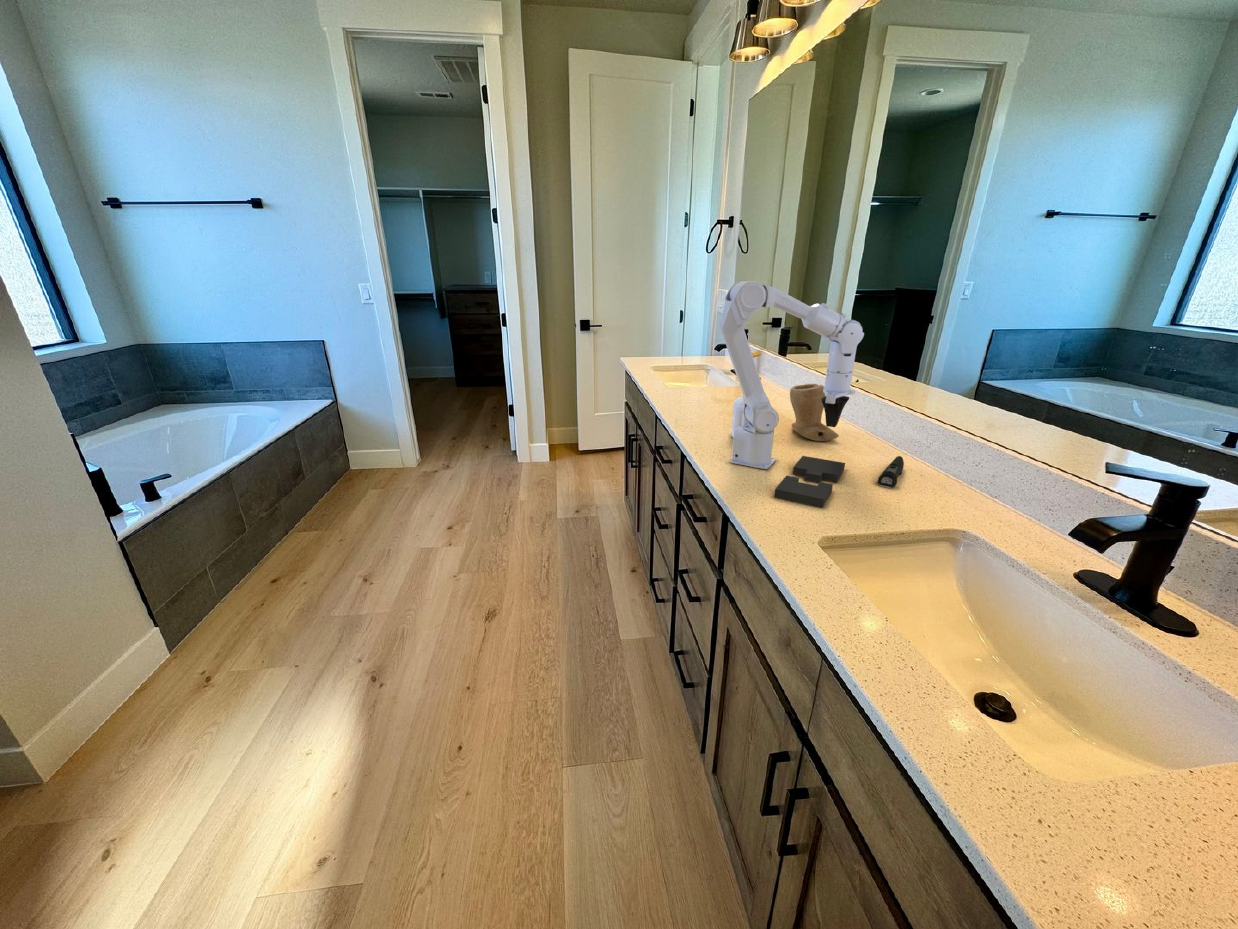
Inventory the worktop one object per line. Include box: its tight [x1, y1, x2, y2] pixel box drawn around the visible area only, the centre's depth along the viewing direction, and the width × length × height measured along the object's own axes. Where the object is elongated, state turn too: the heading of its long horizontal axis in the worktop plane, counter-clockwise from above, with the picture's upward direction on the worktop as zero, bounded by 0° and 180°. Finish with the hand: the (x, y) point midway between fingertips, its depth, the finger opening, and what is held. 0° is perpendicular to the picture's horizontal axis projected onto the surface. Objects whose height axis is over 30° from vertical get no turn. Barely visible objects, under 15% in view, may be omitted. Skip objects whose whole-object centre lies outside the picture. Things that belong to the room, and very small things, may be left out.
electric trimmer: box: [877, 455, 905, 489], centre depth 115 cm, size 4×16×3 cm, turn 143°
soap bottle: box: [730, 351, 762, 438], centre depth 140 cm, size 9×9×25 cm
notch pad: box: [773, 475, 834, 509], centre depth 106 cm, size 10×9×2 cm
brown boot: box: [789, 383, 840, 442], centre depth 143 cm, size 15×12×15 cm
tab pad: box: [792, 455, 846, 484], centre depth 117 cm, size 10×11×2 cm
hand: (831, 425), depth 122 cm, fingers closed
